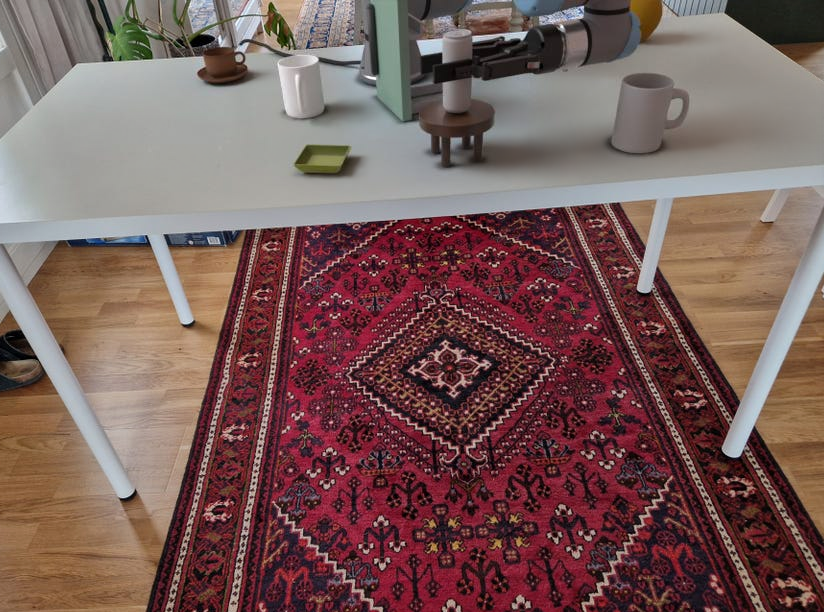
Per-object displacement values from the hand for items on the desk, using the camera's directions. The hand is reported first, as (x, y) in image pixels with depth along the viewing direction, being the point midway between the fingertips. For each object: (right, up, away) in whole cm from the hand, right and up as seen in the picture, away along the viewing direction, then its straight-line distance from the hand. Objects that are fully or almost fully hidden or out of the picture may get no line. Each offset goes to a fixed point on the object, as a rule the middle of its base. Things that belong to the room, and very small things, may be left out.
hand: (427, 69), depth 104 cm
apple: (+55, +33, +57) cm, 86 cm away
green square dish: (-18, -12, +11) cm, 25 cm away
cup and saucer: (-47, +21, +51) cm, 73 cm away
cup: (-24, +4, +31) cm, 39 cm away
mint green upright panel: (-1, +7, +32) cm, 33 cm away
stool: (+6, -10, +12) cm, 16 cm away
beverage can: (+5, -4, +6) cm, 9 cm away
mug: (+40, -8, +12) cm, 42 cm away
